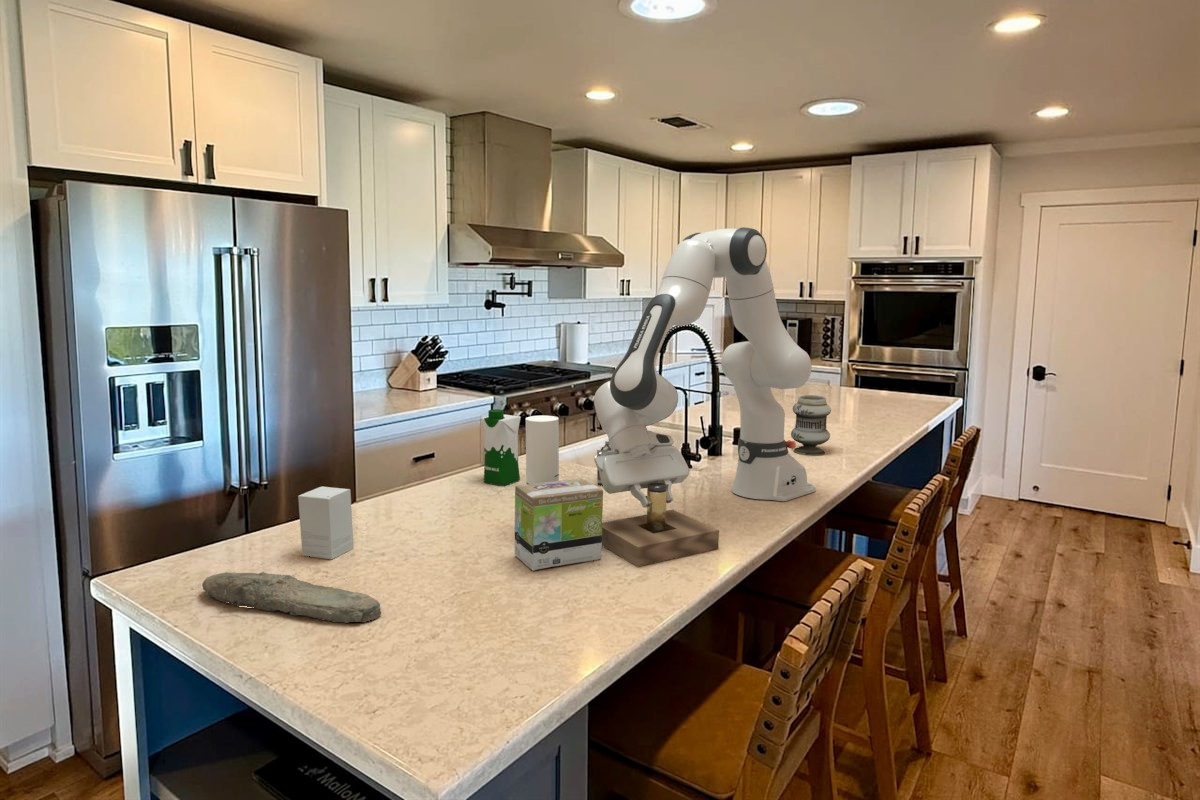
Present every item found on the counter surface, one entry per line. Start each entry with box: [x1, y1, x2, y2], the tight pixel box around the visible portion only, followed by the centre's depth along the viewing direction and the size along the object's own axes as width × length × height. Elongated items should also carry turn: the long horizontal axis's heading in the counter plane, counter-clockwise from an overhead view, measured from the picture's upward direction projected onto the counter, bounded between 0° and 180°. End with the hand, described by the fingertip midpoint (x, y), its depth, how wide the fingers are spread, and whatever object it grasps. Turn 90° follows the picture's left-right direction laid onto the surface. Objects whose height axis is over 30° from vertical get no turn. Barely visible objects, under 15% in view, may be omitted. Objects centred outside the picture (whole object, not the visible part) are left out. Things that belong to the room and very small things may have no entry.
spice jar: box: [646, 483, 667, 530], centre depth 157 cm, size 4×4×9 cm
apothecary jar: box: [790, 394, 832, 457], centre depth 242 cm, size 12×12×18 cm
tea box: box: [514, 477, 604, 572], centre depth 150 cm, size 15×10×15 cm, turn 117°
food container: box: [596, 440, 612, 486], centre depth 207 cm, size 12×6×10 cm, turn 168°
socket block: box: [602, 509, 720, 567], centre depth 158 cm, size 20×16×4 cm
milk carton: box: [480, 408, 521, 487], centre depth 205 cm, size 9×9×20 cm
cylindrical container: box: [525, 415, 560, 485], centre depth 166 cm, size 7×7×25 cm
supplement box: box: [297, 486, 355, 560], centre depth 153 cm, size 7×7×13 cm
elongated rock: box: [202, 571, 382, 624], centre depth 129 cm, size 35×5×10 cm
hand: (658, 503), depth 156 cm, fingers closed on spice jar, 4 cm apart
